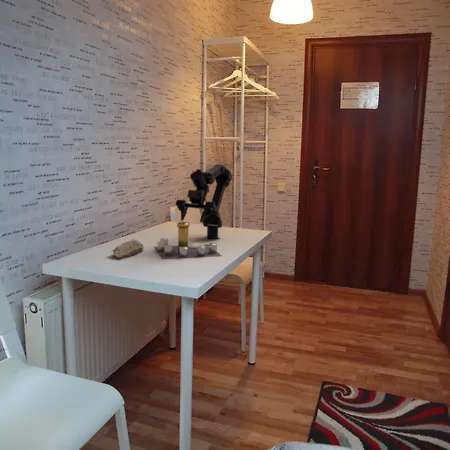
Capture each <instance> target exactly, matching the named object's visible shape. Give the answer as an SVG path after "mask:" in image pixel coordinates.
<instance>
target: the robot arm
mask: <svg viewBox="0 0 450 450" xmlns="http://www.w3.org/2000/svg"><path fill="white" fill-rule="evenodd" d="M189 177H190V179H191V182H192V184H193V187H194V188H195V189H188V192H187V198H189V199H188V200H189V202H187V201H186V200H185V199H177V200H176V202H175V205H176V208H177V209H178V211H179V212H180V220H181V221H180V222H184V219H185V218H186V215H187V214H188V212H187V211H188V210H189V208H191V209H200V210H201V209H202V210H203V211H202V213H201V216H200V219H199V222H200V223H202V225H203V227H206V236H204V238H206V239H207V240H220V239H221V237H219V229H221V228H223V220H222V218H221V214H220V207H221V203H222V200H223V197H224V193H225V190H226V188H227V187H228V186H229V185H230V184H231V181H232V179H233V175H232V172H231V171H230V170H229V169H228V168H226V166H225V165H223V164H215V165H213V167H211V168H210V169H208V170H206V171H202V169H199V168H197V169H196V170H195V171H193V172H192V173H190V176H189ZM214 182H215V183H216V186H215V189H214V192H213V196H212V199H211V201H207V195H208V193H210V186H209V185H213V184H214Z"/></svg>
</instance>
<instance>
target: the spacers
mask: <svg viewBox="0 0 450 450" xmlns="http://www.w3.org/2000/svg"><path fill="white" fill-rule="evenodd" d="M208 244H209V253H211V254H215V253H217V252H218V244H217V243H216V242H210V243H208ZM173 246H174V245H172V244H169V238H168V237H161V238H160V239H159V241H157V247H158V252H164V255H165V256H172V255H173ZM205 254H206V246H197V256H200V257H199V258H204V257H203V256H205ZM179 257H181V258H180V259H187V258H186V257H188V247H179Z"/></svg>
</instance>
